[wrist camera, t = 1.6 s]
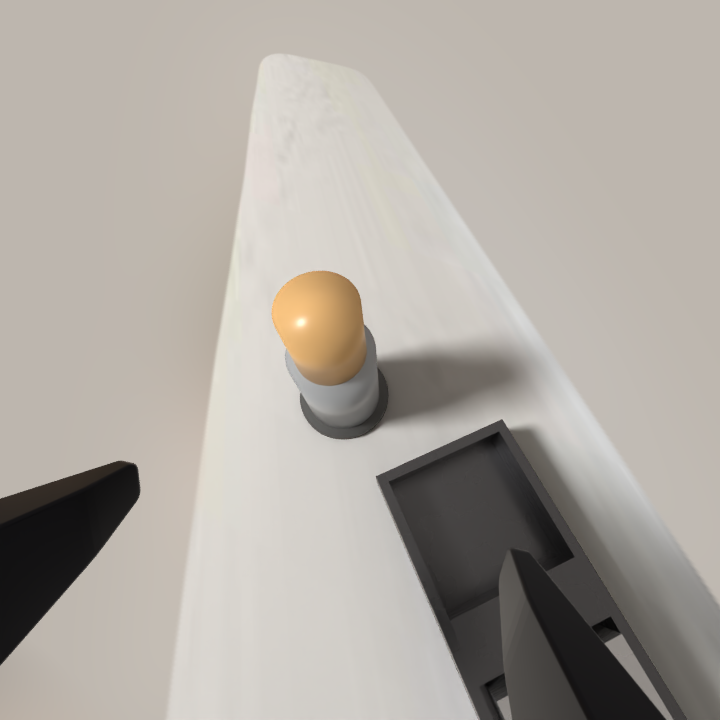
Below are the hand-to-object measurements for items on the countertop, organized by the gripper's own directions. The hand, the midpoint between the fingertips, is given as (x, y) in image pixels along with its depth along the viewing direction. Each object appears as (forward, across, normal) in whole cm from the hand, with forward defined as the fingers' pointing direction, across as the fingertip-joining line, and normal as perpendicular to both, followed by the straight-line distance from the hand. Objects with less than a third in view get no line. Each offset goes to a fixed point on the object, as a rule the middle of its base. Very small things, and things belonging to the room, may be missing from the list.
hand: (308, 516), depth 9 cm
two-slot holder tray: (+8, -8, +11) cm, 16 cm away
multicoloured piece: (+15, +2, +4) cm, 15 cm away
